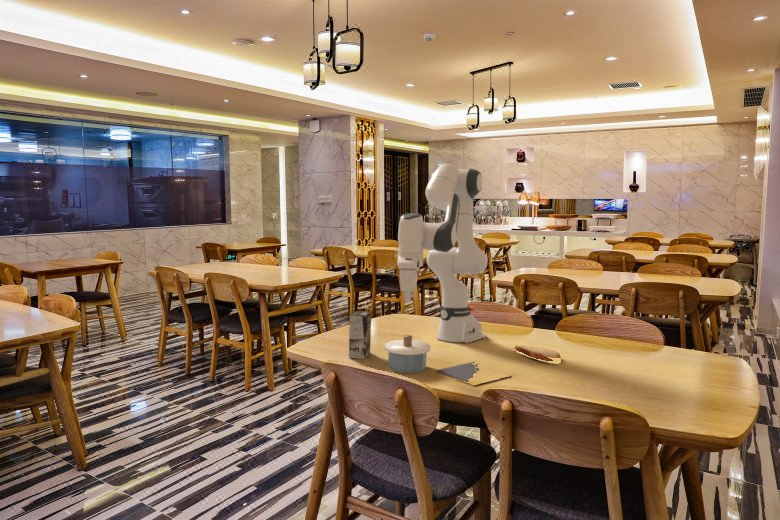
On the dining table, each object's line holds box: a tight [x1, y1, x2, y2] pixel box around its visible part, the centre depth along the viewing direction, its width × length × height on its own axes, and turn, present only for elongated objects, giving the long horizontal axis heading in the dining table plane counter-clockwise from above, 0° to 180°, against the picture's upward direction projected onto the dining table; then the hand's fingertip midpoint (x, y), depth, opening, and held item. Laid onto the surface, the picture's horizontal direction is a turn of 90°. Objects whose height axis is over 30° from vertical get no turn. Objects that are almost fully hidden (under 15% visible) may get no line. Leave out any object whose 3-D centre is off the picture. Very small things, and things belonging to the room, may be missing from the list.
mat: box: [436, 361, 479, 382], centre depth 190 cm, size 18×18×1 cm
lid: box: [384, 334, 431, 355], centre depth 194 cm, size 16×16×4 cm
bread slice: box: [513, 345, 562, 361], centre depth 213 cm, size 18×18×4 cm
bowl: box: [387, 351, 427, 374], centre depth 195 cm, size 13×13×7 cm
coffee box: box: [348, 310, 372, 360], centre depth 208 cm, size 9×6×16 cm
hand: (409, 300), depth 193 cm, fingers open, 8 cm apart
